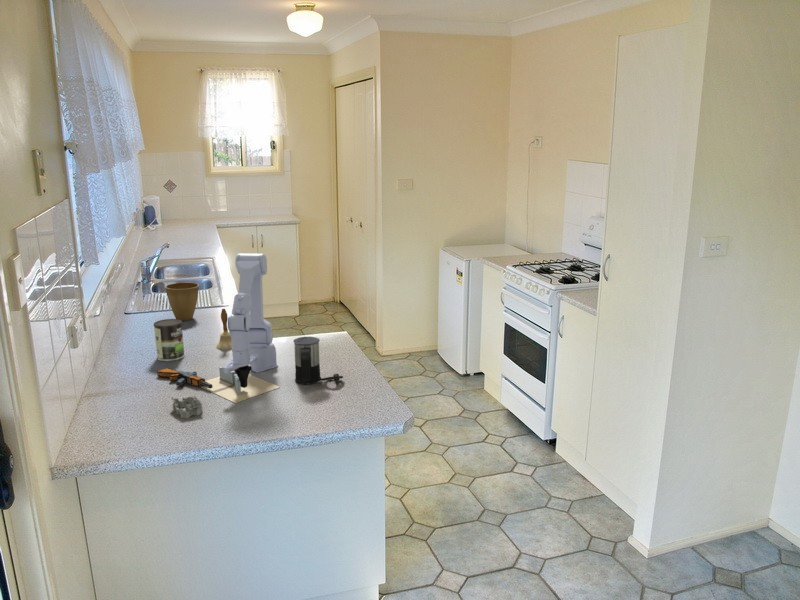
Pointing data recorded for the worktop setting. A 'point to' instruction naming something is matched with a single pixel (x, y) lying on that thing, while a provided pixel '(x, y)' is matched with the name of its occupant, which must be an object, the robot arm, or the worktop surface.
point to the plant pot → (182, 299)
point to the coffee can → (169, 339)
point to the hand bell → (224, 334)
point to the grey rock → (187, 406)
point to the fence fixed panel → (226, 376)
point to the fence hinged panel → (237, 383)
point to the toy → (183, 377)
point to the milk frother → (309, 361)
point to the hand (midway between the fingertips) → (243, 386)
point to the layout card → (252, 389)
